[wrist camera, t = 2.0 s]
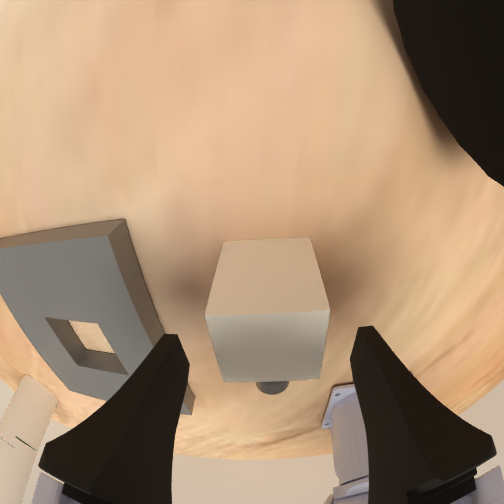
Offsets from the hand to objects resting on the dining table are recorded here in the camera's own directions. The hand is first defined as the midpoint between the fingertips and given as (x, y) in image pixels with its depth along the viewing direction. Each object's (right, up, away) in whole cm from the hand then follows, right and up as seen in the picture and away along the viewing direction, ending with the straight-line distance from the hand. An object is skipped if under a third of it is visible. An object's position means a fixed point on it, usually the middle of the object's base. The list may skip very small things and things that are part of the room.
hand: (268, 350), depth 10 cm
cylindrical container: (-35, -18, +19) cm, 43 cm away
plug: (0, +3, +5) cm, 5 cm away
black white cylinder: (+22, +19, -6) cm, 30 cm away
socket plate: (-14, -2, +8) cm, 17 cm away
